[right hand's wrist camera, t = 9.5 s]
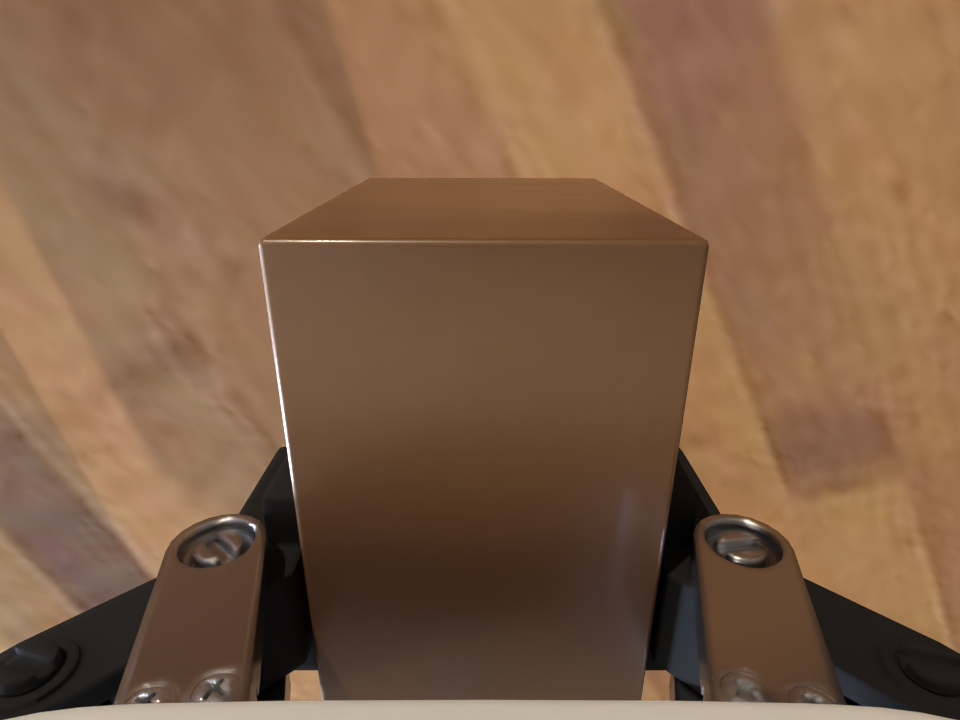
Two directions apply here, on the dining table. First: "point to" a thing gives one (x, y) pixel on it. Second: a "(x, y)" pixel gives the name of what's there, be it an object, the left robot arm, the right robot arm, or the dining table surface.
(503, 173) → the dining table surface
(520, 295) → the beam
